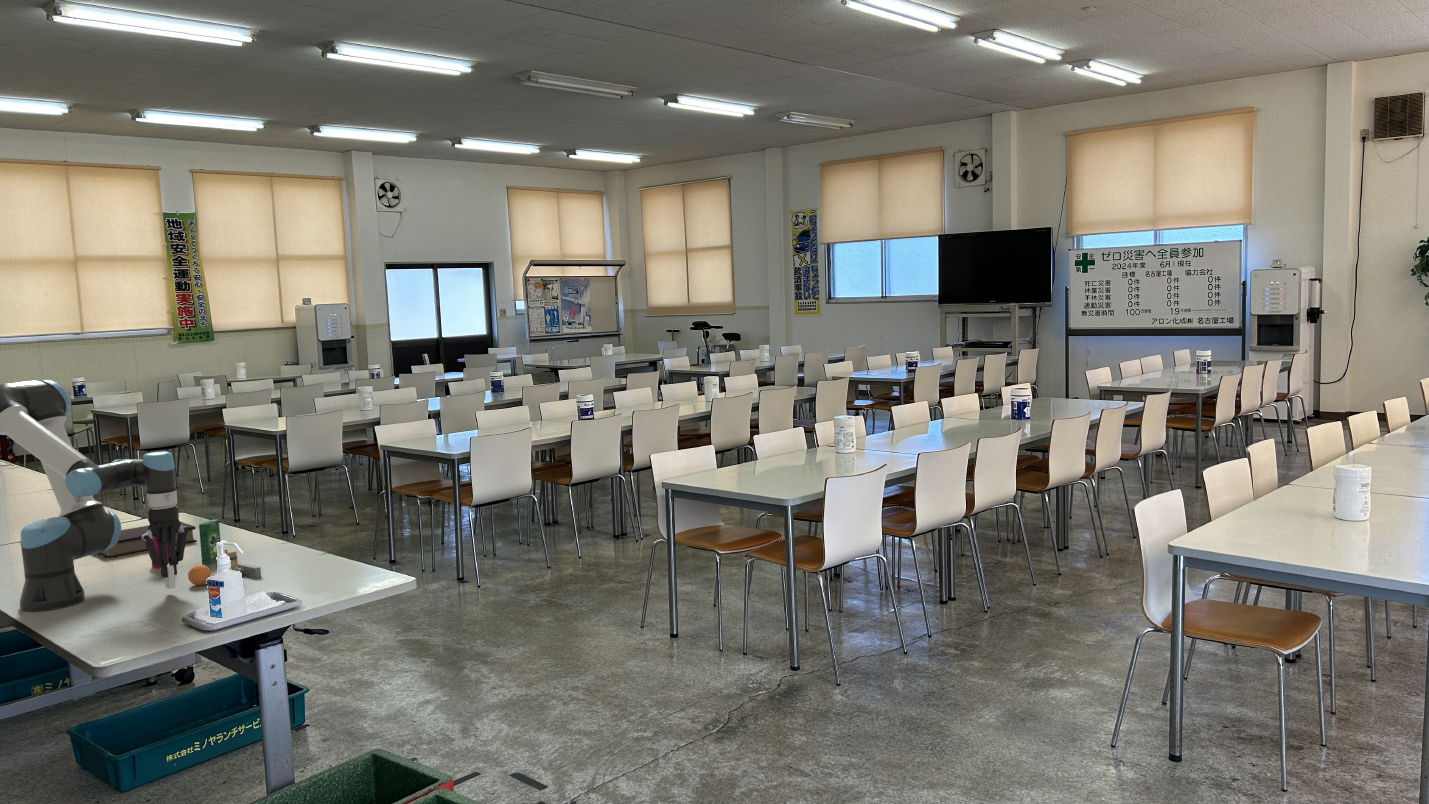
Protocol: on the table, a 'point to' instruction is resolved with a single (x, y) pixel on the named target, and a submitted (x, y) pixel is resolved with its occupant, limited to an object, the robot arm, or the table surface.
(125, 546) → the book
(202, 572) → the ball
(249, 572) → the back wall
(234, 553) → the pin
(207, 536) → the coffee box
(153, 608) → the table surface
